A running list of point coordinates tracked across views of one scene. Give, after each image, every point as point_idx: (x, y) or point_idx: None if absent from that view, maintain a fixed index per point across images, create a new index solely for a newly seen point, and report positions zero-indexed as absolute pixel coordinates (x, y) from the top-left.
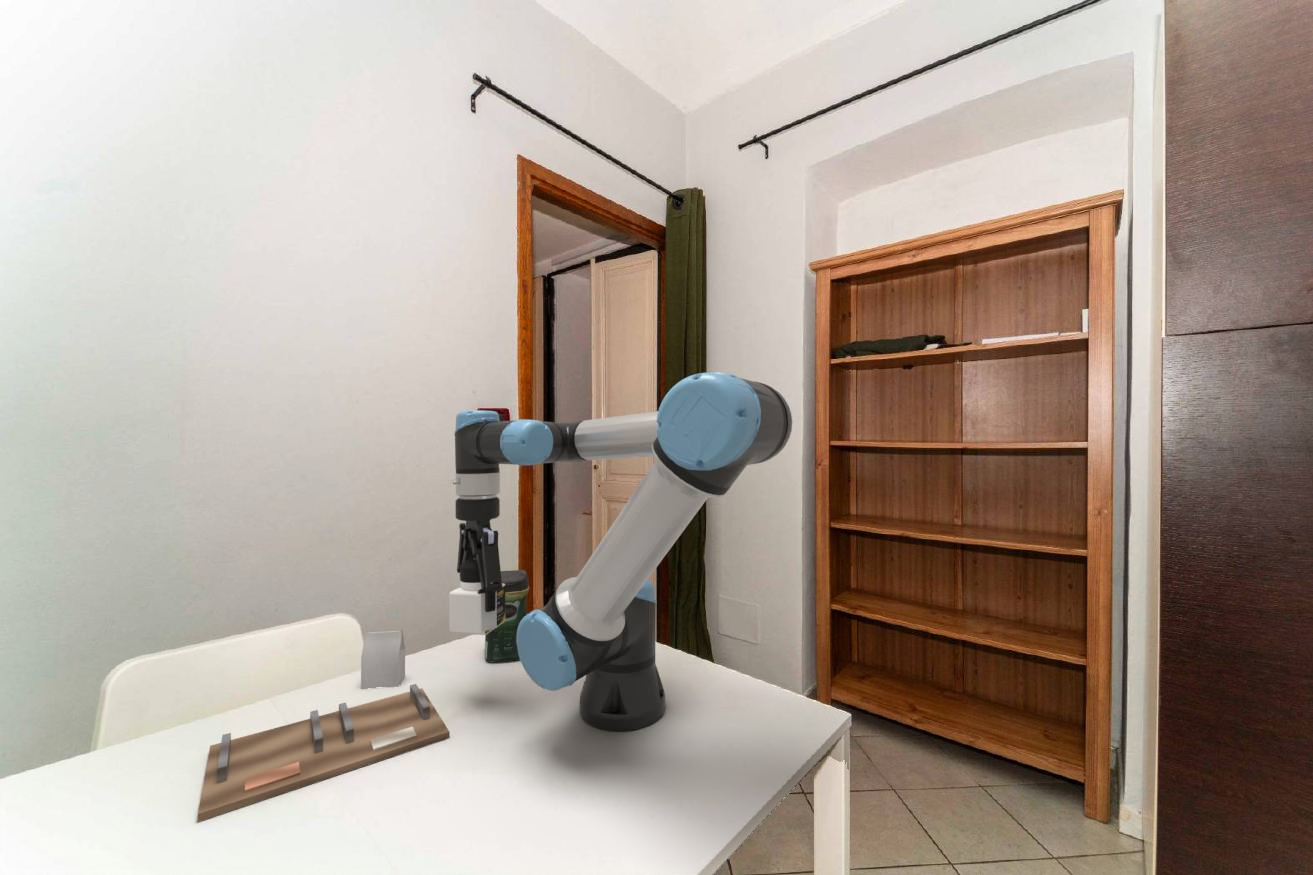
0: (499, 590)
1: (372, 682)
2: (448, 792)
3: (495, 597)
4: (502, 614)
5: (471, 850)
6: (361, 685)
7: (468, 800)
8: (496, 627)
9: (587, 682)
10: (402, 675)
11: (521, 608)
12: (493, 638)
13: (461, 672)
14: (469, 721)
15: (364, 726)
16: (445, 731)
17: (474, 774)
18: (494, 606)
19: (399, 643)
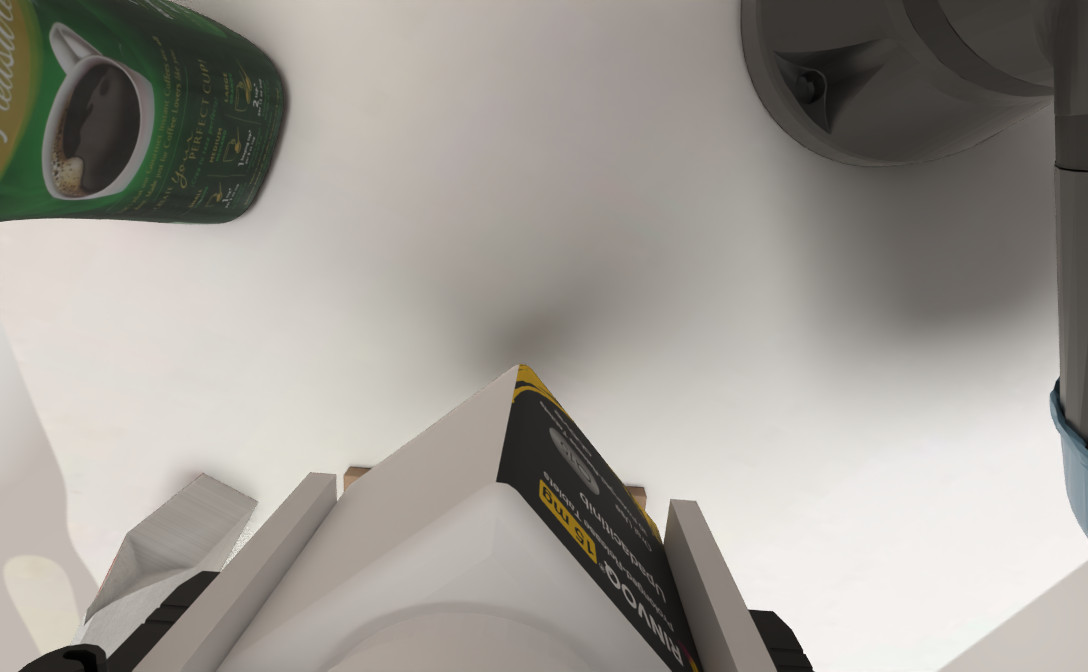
0: (588, 562)
1: (216, 568)
2: (842, 553)
3: (766, 665)
4: (552, 414)
5: (1023, 575)
6: None
7: (898, 534)
8: (696, 504)
9: (917, 121)
10: (215, 495)
11: (96, 22)
12: (187, 205)
13: (265, 325)
14: (602, 423)
15: None
16: (639, 503)
17: (829, 496)
18: (793, 645)
19: (146, 589)
